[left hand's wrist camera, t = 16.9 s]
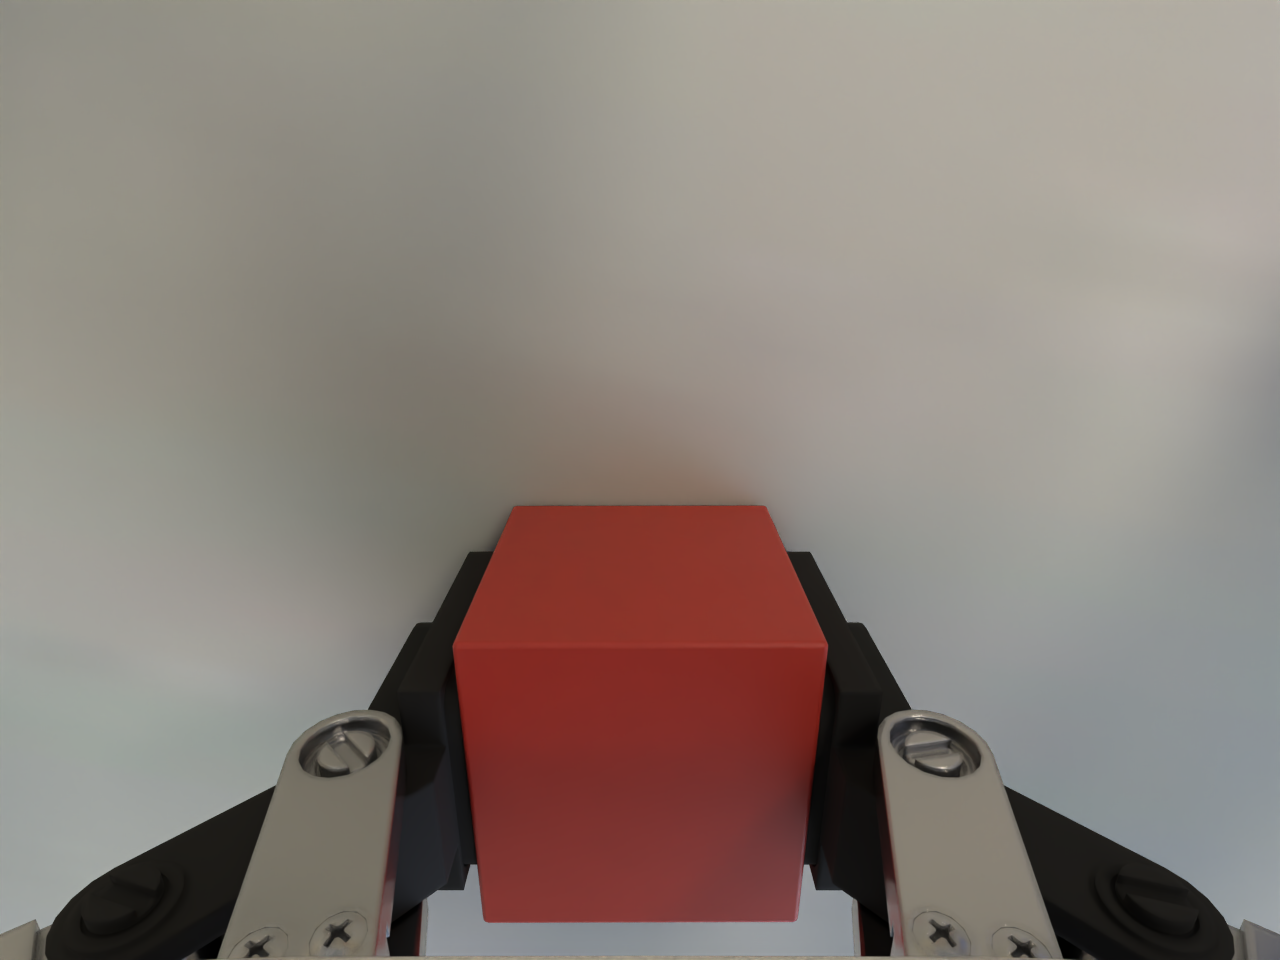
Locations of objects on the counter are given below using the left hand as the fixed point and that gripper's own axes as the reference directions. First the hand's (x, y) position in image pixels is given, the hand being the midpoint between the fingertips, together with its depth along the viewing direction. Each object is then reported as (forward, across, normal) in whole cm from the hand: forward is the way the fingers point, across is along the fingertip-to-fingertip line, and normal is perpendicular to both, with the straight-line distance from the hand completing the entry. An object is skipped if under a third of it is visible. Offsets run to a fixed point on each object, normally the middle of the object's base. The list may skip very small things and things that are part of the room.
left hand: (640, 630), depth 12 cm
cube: (0, 0, 0) cm, 0 cm away
